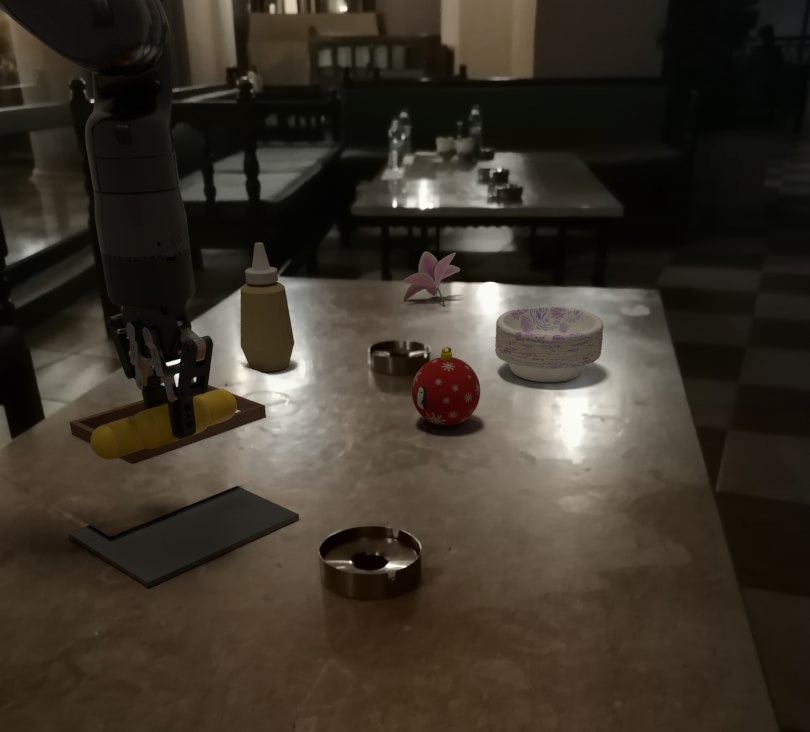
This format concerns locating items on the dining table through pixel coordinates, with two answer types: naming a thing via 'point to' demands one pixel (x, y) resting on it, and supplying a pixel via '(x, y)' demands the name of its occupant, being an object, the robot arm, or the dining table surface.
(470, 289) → the dining table surface
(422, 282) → the lily
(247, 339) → the squeeze bottle
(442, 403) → the christmas ornament
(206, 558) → the board
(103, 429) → the yellow segmented rod
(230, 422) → the tray
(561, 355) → the paper bowls
